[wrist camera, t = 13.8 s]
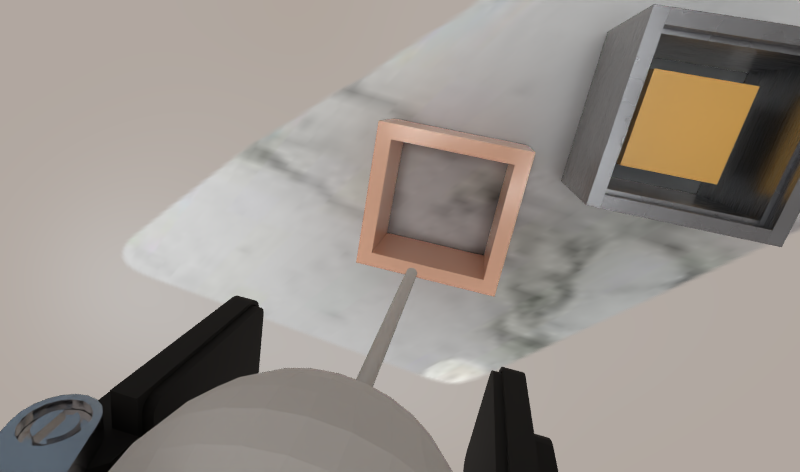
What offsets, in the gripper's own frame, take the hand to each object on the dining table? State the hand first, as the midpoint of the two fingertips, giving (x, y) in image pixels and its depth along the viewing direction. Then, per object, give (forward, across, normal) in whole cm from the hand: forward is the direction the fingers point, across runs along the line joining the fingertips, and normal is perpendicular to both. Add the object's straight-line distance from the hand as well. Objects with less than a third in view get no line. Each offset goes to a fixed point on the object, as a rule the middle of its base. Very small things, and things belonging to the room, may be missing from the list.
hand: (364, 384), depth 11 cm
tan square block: (+23, -13, -8) cm, 28 cm away
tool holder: (+23, 0, 0) cm, 23 cm away
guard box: (+23, -13, -8) cm, 28 cm away
